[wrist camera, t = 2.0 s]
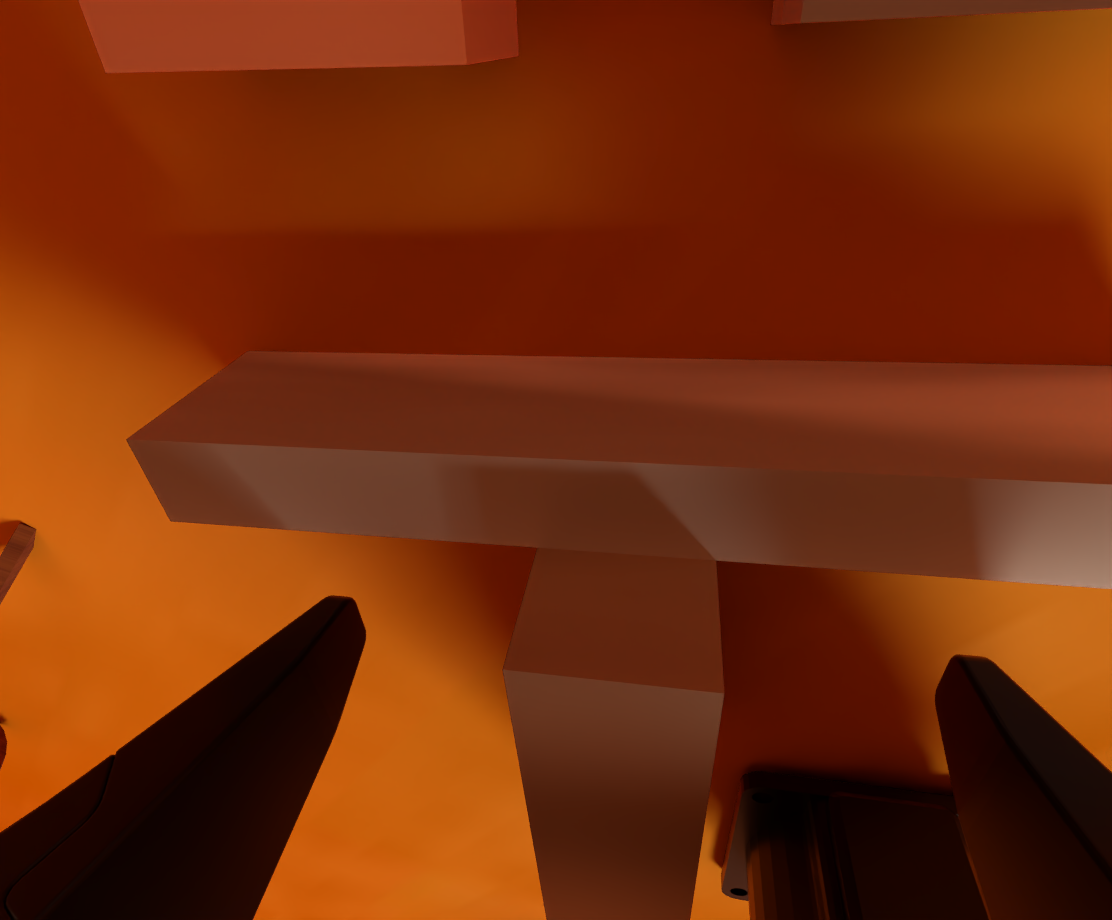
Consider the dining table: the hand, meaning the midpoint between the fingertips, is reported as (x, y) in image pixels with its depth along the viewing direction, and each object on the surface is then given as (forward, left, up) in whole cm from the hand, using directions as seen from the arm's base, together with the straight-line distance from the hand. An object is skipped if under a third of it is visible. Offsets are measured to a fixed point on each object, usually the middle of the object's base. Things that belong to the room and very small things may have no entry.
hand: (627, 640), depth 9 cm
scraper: (-1, 0, -3) cm, 3 cm away
